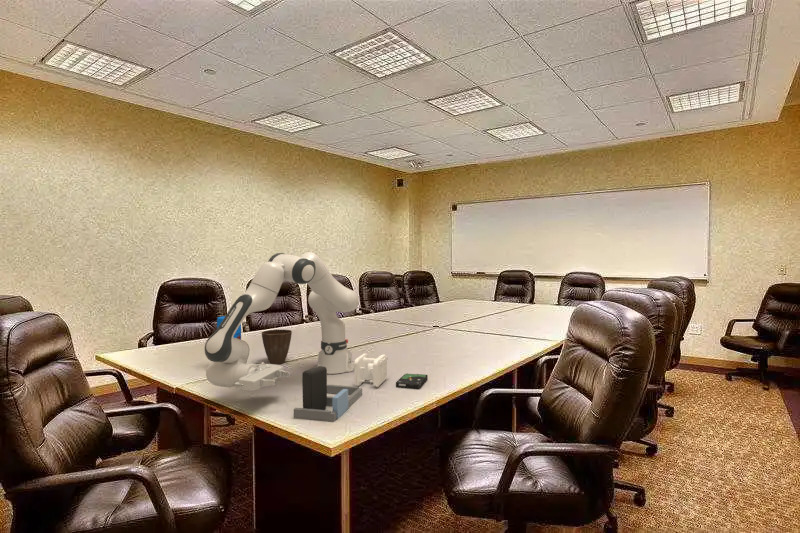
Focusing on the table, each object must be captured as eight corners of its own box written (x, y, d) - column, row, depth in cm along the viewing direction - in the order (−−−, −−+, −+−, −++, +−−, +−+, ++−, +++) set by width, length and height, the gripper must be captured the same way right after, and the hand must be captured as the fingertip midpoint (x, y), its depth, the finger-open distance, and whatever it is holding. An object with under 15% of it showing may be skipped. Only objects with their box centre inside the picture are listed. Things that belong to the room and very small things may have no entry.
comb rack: (327, 391, 173) (327, 374, 172) (362, 394, 169) (362, 376, 169) (293, 417, 145) (293, 397, 145) (334, 421, 141) (334, 400, 141)
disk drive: (419, 391, 175) (427, 380, 189) (419, 384, 175) (427, 374, 189) (395, 389, 178) (405, 378, 192) (395, 382, 178) (405, 372, 192)
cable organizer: (365, 377, 193) (365, 352, 192) (388, 379, 190) (388, 353, 190) (353, 387, 178) (353, 359, 178) (378, 389, 176) (378, 361, 175)
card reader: (319, 406, 156) (319, 365, 156) (328, 408, 154) (327, 366, 154) (301, 413, 149) (301, 370, 148) (310, 416, 146) (309, 372, 146)
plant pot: (259, 361, 224) (259, 330, 223) (288, 358, 231) (287, 328, 230) (265, 368, 210) (264, 335, 210) (295, 364, 217) (295, 332, 217)
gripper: (230, 375, 148) (266, 378, 145) (263, 360, 168) (295, 362, 165) (230, 393, 148) (266, 396, 145) (263, 376, 168) (295, 379, 165)
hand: (282, 378), depth 155 cm, fingers open, 8 cm apart
